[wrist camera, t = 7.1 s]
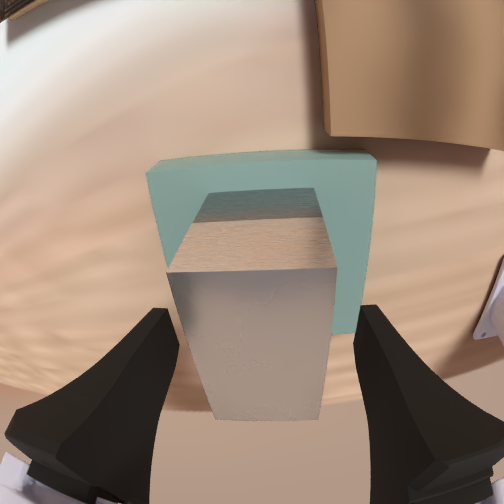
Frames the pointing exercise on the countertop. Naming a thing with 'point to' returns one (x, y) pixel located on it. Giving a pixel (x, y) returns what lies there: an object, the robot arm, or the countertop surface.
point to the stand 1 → (280, 177)
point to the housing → (258, 302)
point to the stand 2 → (413, 69)
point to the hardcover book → (17, 8)
